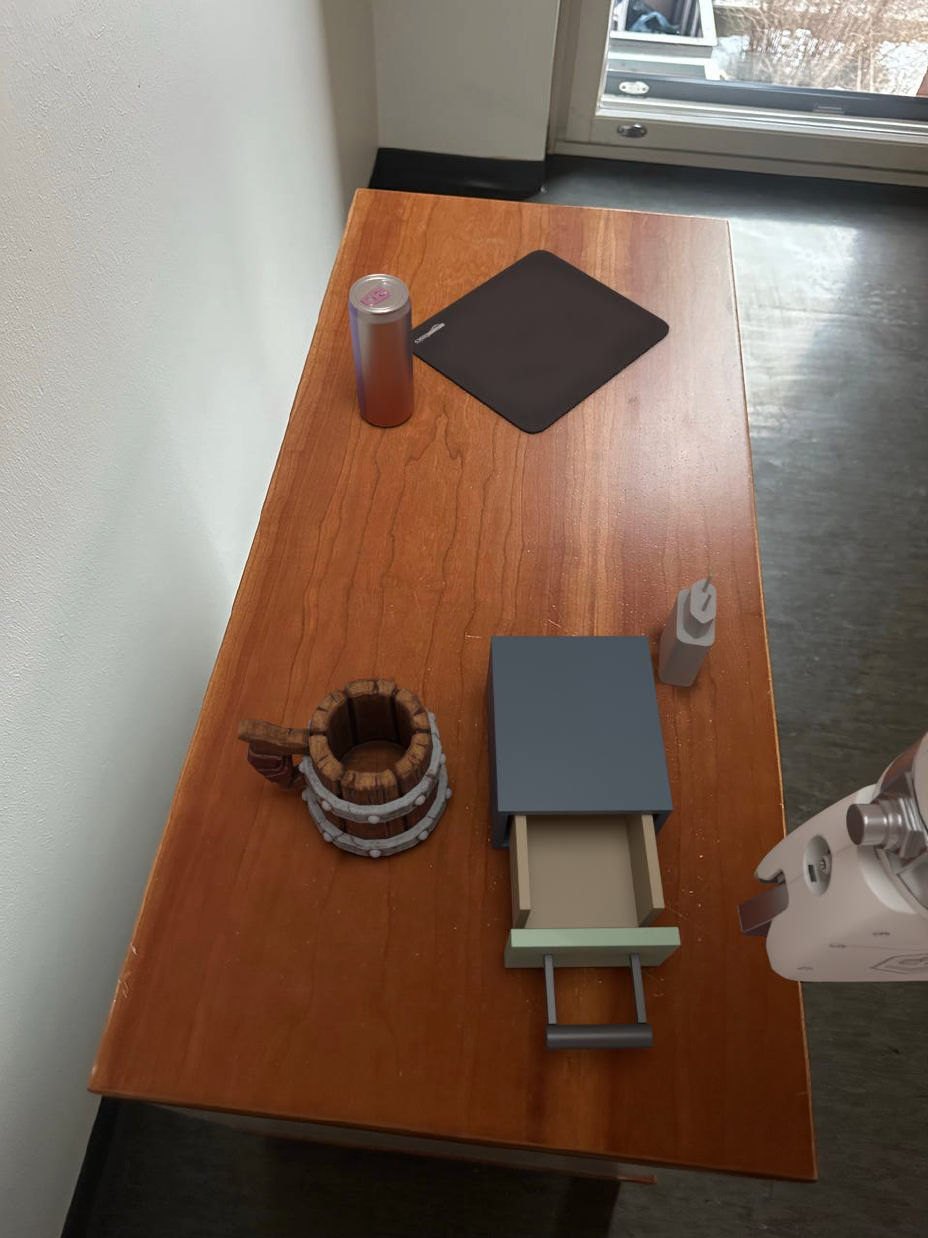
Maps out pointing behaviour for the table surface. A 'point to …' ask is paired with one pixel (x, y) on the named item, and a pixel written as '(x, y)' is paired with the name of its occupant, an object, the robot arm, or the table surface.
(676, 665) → the power adapter
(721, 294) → the table surface
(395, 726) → the mug
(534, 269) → the mouse pad
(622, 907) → the drawer
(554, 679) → the cabinet
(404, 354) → the beverage can
